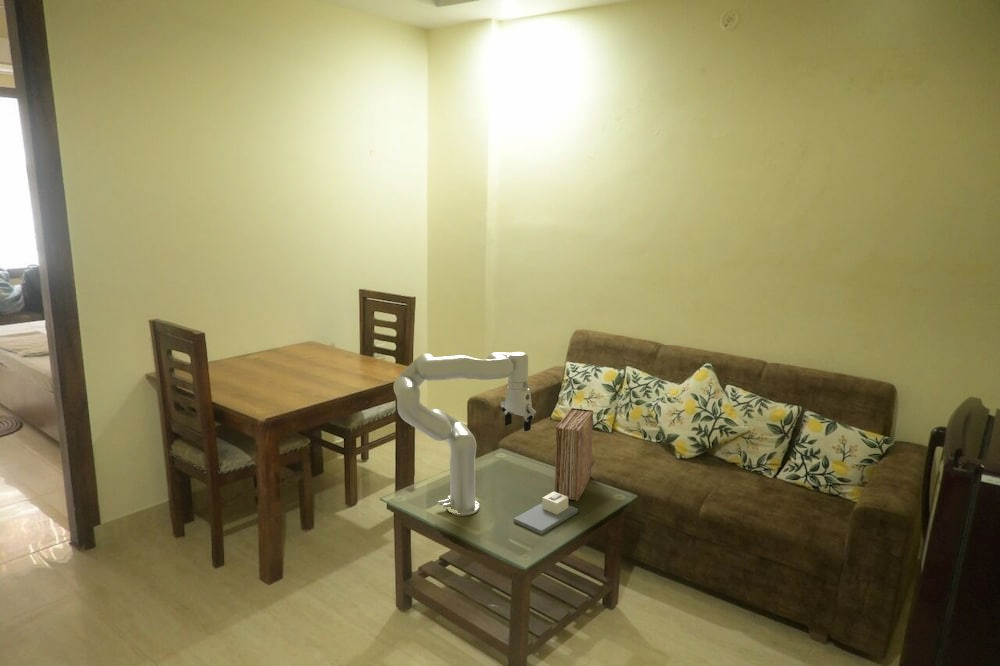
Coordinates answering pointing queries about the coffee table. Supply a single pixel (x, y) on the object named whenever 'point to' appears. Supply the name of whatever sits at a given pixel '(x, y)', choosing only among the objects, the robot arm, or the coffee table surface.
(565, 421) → the book
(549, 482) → the coffee table surface
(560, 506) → the collar
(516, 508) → the coffee table surface
